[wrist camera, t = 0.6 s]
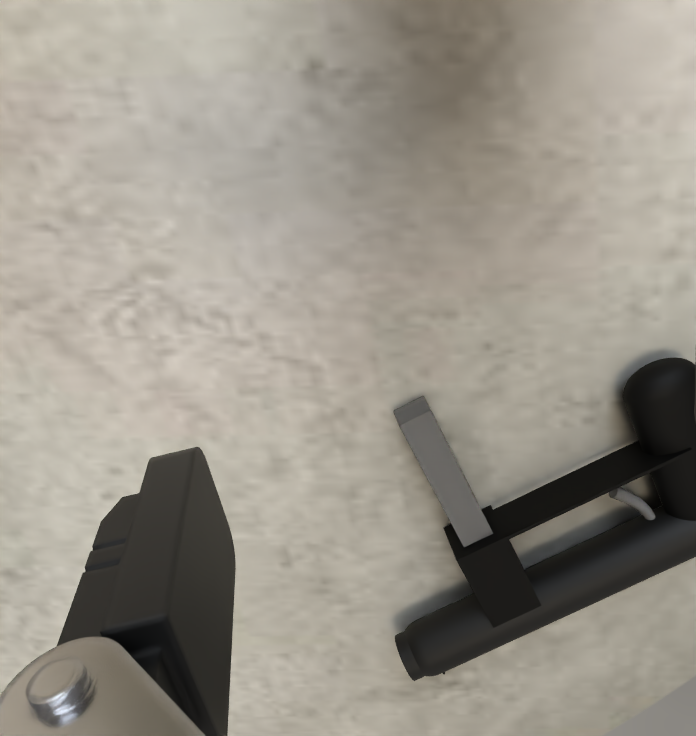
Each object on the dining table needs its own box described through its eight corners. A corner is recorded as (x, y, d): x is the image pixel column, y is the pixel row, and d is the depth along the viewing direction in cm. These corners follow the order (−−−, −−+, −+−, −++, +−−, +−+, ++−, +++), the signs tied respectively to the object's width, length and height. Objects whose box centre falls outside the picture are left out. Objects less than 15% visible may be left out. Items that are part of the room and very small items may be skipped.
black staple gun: (287, 490, 30) (428, 709, 36) (692, 290, 29) (771, 553, 35) (286, 455, 34) (416, 662, 39) (652, 272, 32) (731, 517, 38)
